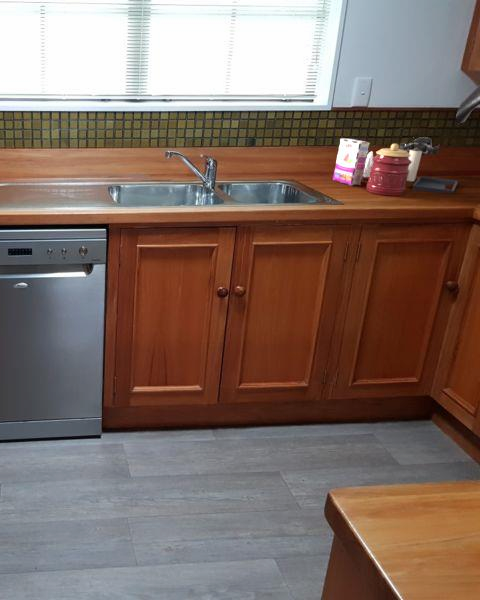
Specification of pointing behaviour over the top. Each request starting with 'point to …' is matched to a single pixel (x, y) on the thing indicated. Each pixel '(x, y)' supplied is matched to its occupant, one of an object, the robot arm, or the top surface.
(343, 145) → the candy bar box
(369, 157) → the shaker set
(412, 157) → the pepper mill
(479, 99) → the robot arm
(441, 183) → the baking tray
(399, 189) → the kitchen canister
